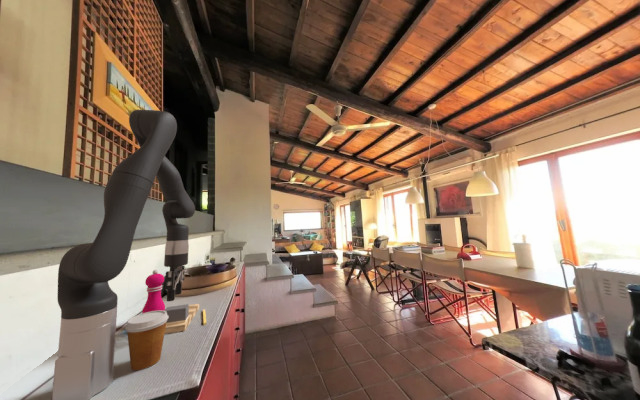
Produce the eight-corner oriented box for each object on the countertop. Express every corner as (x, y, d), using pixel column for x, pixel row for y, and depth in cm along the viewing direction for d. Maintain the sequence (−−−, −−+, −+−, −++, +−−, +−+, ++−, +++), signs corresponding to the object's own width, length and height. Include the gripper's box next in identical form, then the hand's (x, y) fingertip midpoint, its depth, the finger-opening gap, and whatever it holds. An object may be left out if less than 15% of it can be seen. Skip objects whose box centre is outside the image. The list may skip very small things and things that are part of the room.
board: (185, 330, 77) (185, 324, 77) (158, 335, 75) (158, 328, 75) (199, 308, 98) (199, 303, 98) (178, 311, 96) (178, 306, 96)
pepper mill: (169, 318, 88) (170, 267, 91) (154, 326, 81) (156, 271, 83) (152, 318, 89) (154, 268, 91) (136, 326, 82) (138, 272, 84)
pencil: (206, 324, 81) (206, 322, 81) (203, 325, 81) (203, 323, 81) (205, 311, 95) (205, 308, 95) (202, 311, 94) (202, 309, 94)
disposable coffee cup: (144, 376, 54) (146, 325, 55) (112, 373, 56) (115, 323, 57) (175, 353, 63) (176, 310, 65) (147, 351, 65) (149, 309, 66)
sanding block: (185, 322, 79) (185, 308, 80) (162, 325, 77) (163, 311, 78) (188, 317, 83) (188, 304, 84) (167, 320, 81) (167, 306, 81)
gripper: (183, 253, 77) (180, 302, 75) (192, 250, 91) (190, 291, 88) (157, 255, 75) (154, 305, 73) (171, 251, 88) (169, 293, 86)
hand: (174, 297), depth 81 cm, fingers open, 8 cm apart
